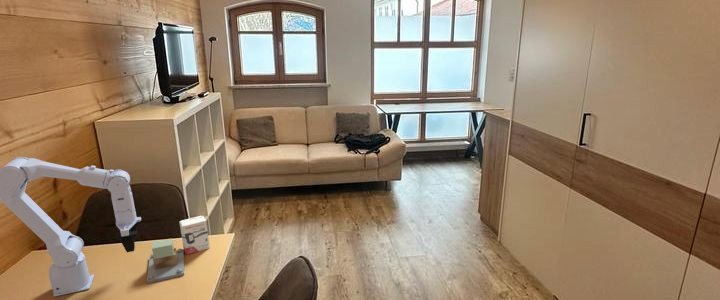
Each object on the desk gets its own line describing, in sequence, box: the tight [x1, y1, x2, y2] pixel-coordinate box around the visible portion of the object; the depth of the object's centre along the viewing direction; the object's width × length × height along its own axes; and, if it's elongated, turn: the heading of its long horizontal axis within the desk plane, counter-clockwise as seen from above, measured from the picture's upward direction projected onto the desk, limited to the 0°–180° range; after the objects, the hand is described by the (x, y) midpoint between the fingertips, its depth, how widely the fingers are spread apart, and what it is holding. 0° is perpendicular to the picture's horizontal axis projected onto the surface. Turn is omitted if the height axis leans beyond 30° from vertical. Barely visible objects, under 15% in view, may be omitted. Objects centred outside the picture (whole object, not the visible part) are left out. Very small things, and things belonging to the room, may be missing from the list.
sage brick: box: [151, 238, 175, 259], centre depth 134 cm, size 6×4×4 cm
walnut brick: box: [153, 248, 178, 270], centre depth 136 cm, size 7×4×4 cm, turn 113°
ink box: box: [178, 215, 211, 256], centre depth 145 cm, size 8×5×12 cm, turn 123°
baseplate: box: [146, 248, 185, 284], centre depth 136 cm, size 11×16×2 cm
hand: (131, 245), depth 130 cm, fingers open, 7 cm apart
